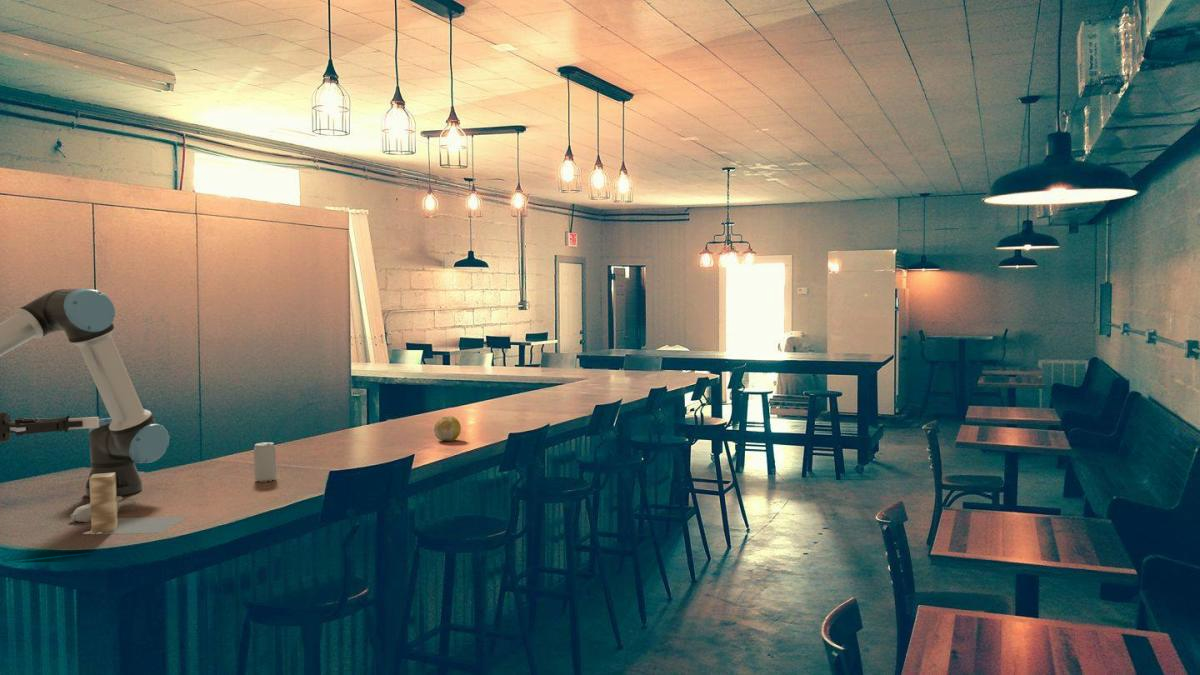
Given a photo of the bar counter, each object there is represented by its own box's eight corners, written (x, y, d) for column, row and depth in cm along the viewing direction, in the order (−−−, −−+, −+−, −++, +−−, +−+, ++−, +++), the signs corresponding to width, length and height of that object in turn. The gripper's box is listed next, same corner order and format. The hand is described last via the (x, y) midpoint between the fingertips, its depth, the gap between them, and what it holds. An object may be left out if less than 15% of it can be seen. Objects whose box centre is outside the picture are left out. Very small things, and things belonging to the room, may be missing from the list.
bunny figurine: (62, 508, 223) (115, 489, 237) (65, 526, 224) (118, 506, 237) (85, 511, 219) (138, 492, 233) (88, 530, 220) (140, 509, 234)
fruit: (438, 438, 345) (438, 414, 344) (464, 439, 343) (463, 414, 343) (430, 443, 335) (429, 418, 334) (456, 443, 333) (456, 418, 333)
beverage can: (268, 483, 267) (267, 445, 267) (250, 482, 269) (249, 445, 268) (280, 478, 274) (279, 442, 273) (262, 477, 275) (261, 441, 274)
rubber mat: (79, 535, 211) (79, 534, 211) (112, 519, 226) (112, 518, 226) (160, 534, 211) (160, 532, 211) (188, 518, 226) (188, 516, 226)
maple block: (91, 533, 211) (89, 478, 211) (95, 528, 216) (92, 474, 215) (114, 531, 213) (112, 476, 212) (117, 525, 218) (115, 472, 217)
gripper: (-3, 439, 215) (103, 432, 224) (-19, 447, 203) (93, 440, 212) (-4, 409, 215) (102, 404, 223) (-21, 416, 203) (92, 410, 211)
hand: (98, 422), depth 218 cm, fingers closed
